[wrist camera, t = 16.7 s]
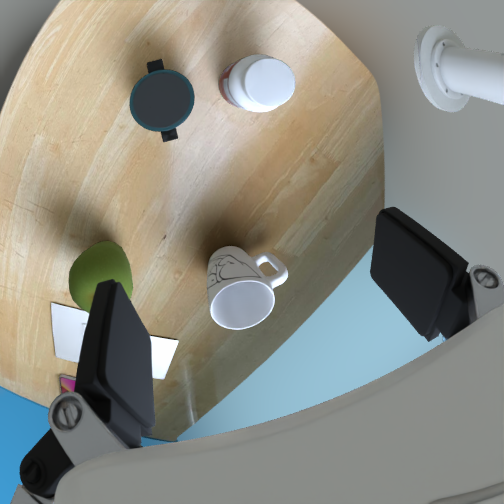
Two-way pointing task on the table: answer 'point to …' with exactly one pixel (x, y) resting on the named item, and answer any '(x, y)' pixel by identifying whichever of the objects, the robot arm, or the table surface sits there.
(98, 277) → the apple
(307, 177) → the table surface
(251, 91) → the pill bottle
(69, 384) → the smartphone
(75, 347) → the paper
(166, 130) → the pot
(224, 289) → the mug
